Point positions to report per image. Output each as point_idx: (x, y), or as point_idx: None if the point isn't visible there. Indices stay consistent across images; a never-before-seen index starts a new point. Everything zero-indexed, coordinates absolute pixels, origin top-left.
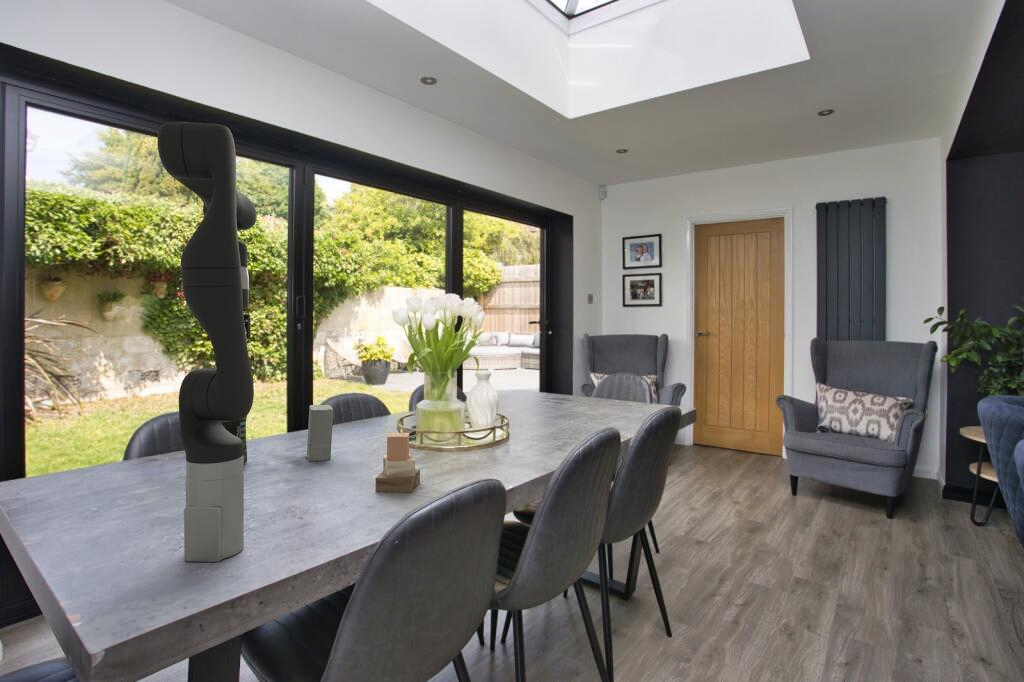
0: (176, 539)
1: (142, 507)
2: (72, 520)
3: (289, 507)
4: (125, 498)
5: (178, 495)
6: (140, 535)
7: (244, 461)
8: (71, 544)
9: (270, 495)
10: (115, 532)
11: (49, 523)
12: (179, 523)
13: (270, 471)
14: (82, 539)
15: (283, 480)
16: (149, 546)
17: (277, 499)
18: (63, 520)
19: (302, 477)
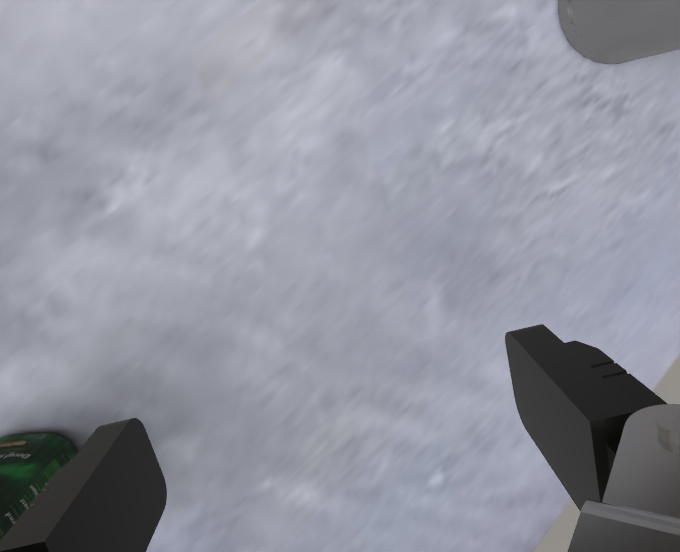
0: (564, 152)
1: (402, 394)
2: (507, 455)
3: (296, 29)
4: (360, 479)
5: (304, 388)
6: (557, 249)
7: (3, 439)
8: (622, 339)
9: (223, 158)
10: (551, 315)
11: (531, 479)
12: (475, 227)
13: (26, 319)
14: (596, 342)
15: (87, 219)
16: (610, 177)
17: (247, 113)
18: (511, 471)
19: (34, 182)
